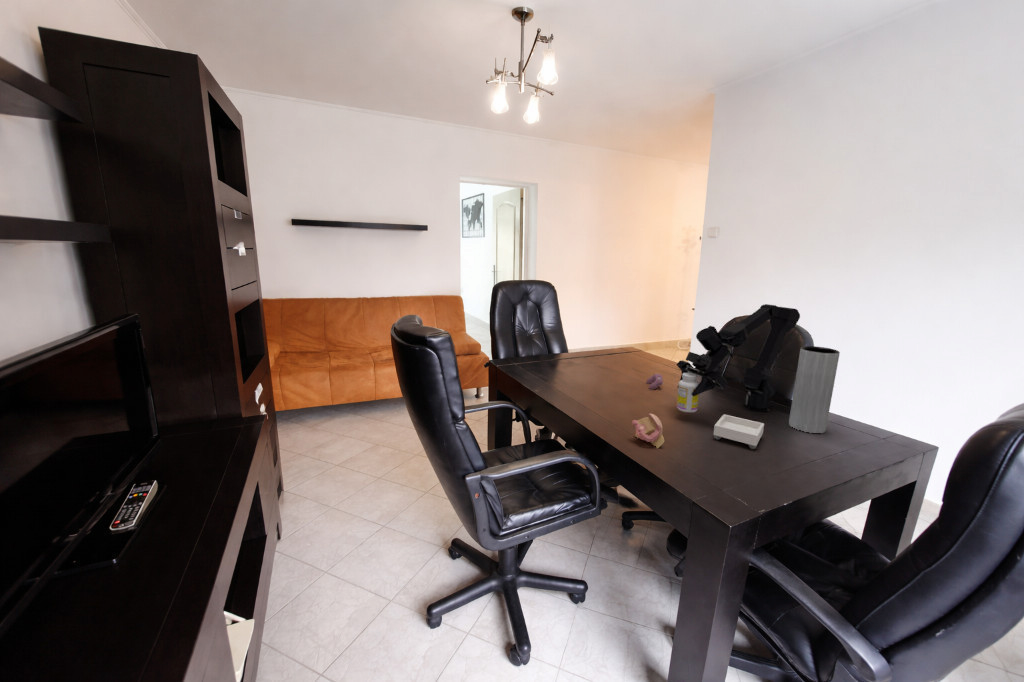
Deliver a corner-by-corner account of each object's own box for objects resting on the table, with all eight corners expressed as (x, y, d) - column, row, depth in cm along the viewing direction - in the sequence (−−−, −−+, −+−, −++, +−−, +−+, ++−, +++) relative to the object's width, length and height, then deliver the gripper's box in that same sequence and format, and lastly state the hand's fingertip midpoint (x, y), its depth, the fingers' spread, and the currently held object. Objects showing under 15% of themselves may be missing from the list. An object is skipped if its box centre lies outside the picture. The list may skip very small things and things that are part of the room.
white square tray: (722, 427, 133) (723, 414, 132) (762, 437, 125) (764, 423, 124) (712, 439, 124) (714, 425, 123) (755, 451, 117) (757, 436, 116)
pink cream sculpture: (636, 433, 130) (660, 415, 127) (653, 459, 123) (679, 441, 120) (623, 425, 124) (648, 407, 121) (641, 452, 117) (667, 433, 114)
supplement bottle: (696, 407, 141) (699, 372, 138) (698, 414, 135) (701, 378, 132) (675, 404, 143) (678, 371, 141) (677, 411, 137) (680, 376, 134)
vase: (792, 419, 139) (804, 344, 134) (827, 427, 132) (842, 349, 127) (785, 427, 133) (797, 349, 127) (822, 437, 126) (837, 354, 120)
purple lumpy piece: (657, 393, 170) (666, 380, 168) (648, 388, 170) (656, 375, 168) (654, 386, 179) (662, 373, 177) (645, 381, 180) (653, 368, 178)
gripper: (682, 338, 144) (655, 370, 143) (723, 350, 127) (692, 386, 126) (698, 357, 148) (671, 388, 147) (740, 371, 131) (710, 406, 130)
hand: (685, 392), depth 137 cm, fingers closed on supplement bottle, 7 cm apart
